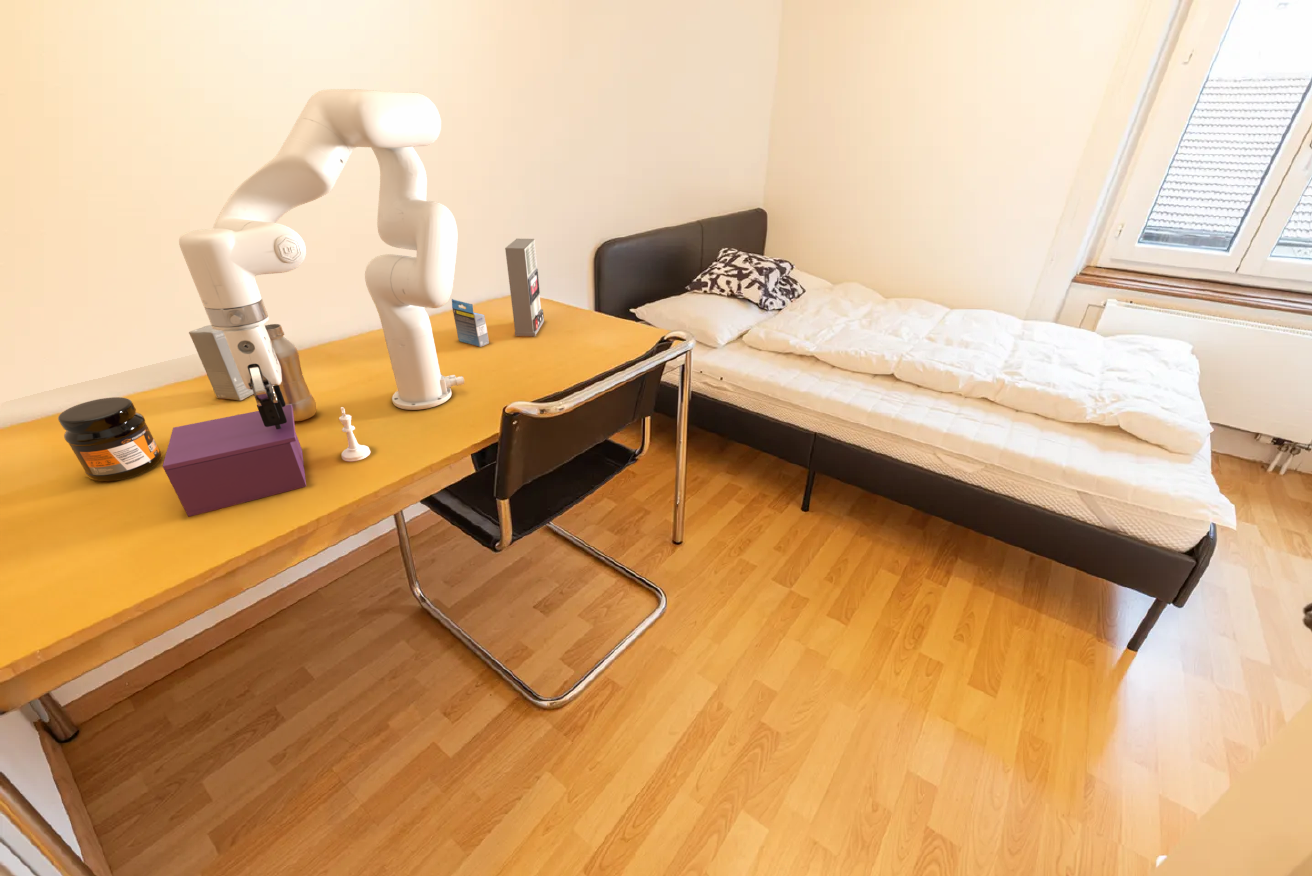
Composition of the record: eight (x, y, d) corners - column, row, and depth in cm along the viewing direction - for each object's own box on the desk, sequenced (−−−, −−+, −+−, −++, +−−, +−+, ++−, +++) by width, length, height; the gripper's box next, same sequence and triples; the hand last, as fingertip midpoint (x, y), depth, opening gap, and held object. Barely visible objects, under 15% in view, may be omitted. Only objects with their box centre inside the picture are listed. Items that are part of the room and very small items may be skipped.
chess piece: (342, 464, 103) (326, 416, 98) (341, 451, 107) (326, 404, 102) (371, 457, 105) (357, 410, 100) (369, 445, 109) (356, 399, 104)
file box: (302, 450, 107) (287, 409, 103) (306, 486, 97) (290, 442, 92) (195, 474, 100) (175, 431, 95) (188, 516, 89) (164, 470, 85)
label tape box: (490, 343, 158) (483, 300, 152) (479, 347, 155) (472, 304, 149) (468, 337, 162) (461, 295, 156) (457, 341, 159) (449, 298, 153)
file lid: (292, 408, 103) (283, 380, 100) (296, 441, 93) (285, 411, 90) (175, 431, 95) (160, 402, 92) (164, 470, 85) (148, 438, 82)
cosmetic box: (240, 401, 125) (213, 333, 117) (213, 398, 126) (184, 331, 118) (270, 386, 132) (246, 321, 124) (244, 383, 133) (219, 319, 125)
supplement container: (148, 479, 98) (116, 418, 92) (75, 488, 96) (37, 427, 90) (174, 449, 107) (146, 392, 101) (108, 457, 104) (75, 399, 98)
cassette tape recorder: (536, 337, 163) (527, 248, 150) (515, 336, 163) (504, 248, 150) (544, 322, 175) (537, 238, 162) (525, 321, 175) (516, 238, 162)
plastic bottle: (326, 413, 120) (297, 323, 110) (300, 427, 115) (267, 334, 105) (303, 408, 122) (273, 319, 112) (276, 422, 117) (241, 330, 107)
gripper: (266, 325, 82) (303, 431, 91) (265, 296, 95) (298, 392, 104) (204, 334, 79) (249, 443, 88) (212, 303, 92) (250, 401, 101)
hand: (275, 415), depth 96 cm, fingers open, 6 cm apart
